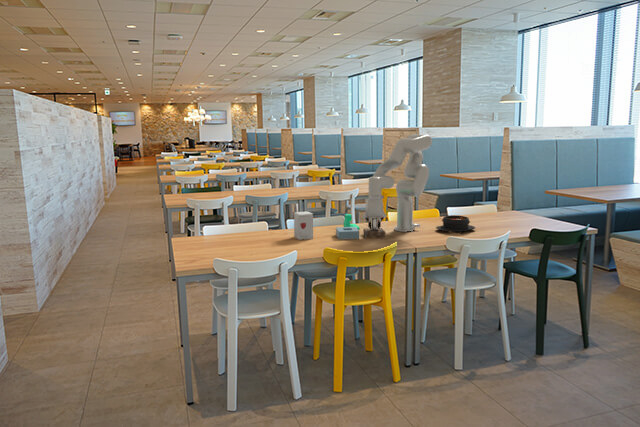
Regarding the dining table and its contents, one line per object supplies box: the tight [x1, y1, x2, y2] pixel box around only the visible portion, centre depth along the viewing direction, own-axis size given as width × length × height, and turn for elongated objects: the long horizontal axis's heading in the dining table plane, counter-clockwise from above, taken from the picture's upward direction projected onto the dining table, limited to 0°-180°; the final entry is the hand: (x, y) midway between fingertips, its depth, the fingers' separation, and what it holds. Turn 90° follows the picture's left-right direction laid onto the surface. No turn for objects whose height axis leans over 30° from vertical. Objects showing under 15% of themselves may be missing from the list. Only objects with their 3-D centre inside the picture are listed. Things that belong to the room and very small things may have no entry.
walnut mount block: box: [363, 227, 386, 239], centre depth 289 cm, size 11×11×4 cm
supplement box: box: [293, 211, 314, 241], centre depth 285 cm, size 9×9×15 cm
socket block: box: [335, 226, 360, 240], centre depth 288 cm, size 12×12×4 cm
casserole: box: [435, 214, 476, 233], centre depth 302 cm, size 25×19×8 cm
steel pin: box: [371, 217, 378, 231], centre depth 289 cm, size 3×3×11 cm
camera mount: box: [342, 213, 361, 231], centre depth 306 cm, size 12×8×10 cm, turn 11°
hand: (374, 228), depth 289 cm, fingers open, 4 cm apart
